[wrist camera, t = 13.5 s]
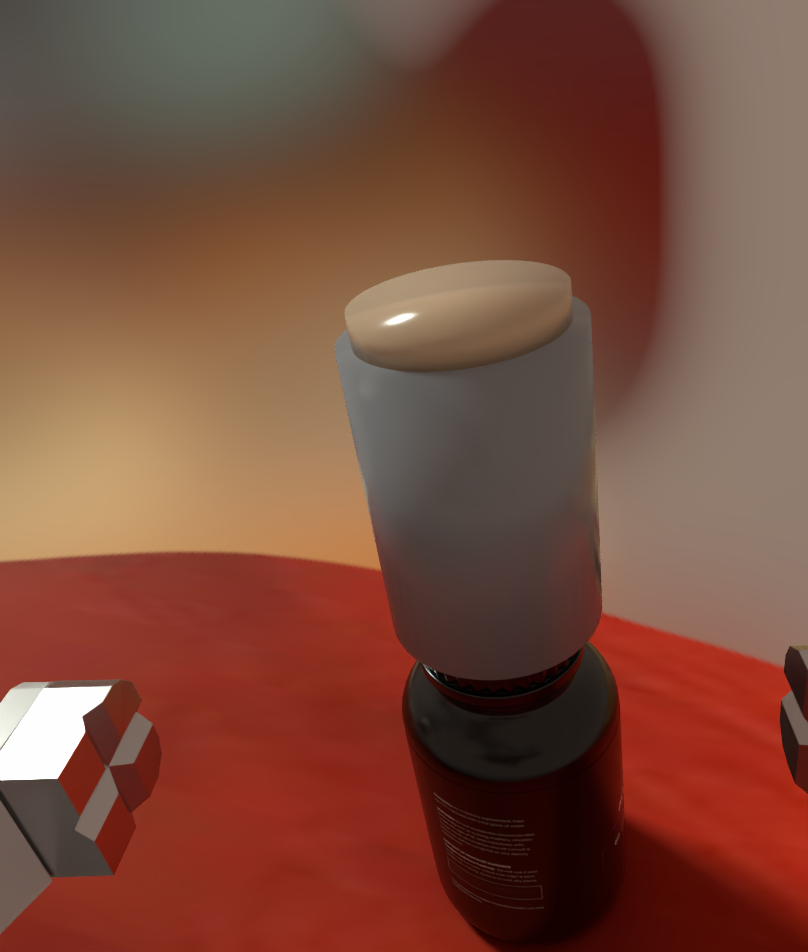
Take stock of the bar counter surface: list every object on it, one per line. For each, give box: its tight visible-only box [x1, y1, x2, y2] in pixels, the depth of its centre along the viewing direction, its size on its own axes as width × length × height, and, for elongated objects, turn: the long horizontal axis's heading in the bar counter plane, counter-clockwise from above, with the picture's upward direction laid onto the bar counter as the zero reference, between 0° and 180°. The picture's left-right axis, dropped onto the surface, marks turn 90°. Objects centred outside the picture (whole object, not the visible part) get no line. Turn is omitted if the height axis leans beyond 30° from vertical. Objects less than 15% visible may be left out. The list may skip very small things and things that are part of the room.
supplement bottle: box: [402, 641, 625, 946], centre depth 25 cm, size 7×7×12 cm
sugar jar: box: [335, 260, 602, 680], centre depth 20 cm, size 6×6×9 cm
